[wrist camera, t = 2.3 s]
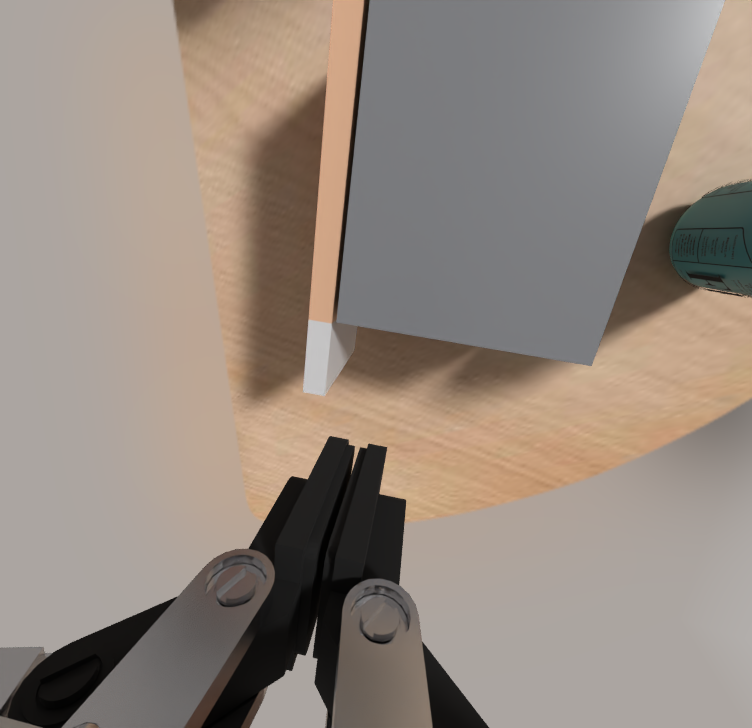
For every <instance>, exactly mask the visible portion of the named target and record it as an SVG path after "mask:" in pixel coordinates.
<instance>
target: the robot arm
mask: <svg viewBox="0 0 752 728" xmlns="http://www.w3.org/2000/svg"><path fill="white" fill-rule="evenodd" d="M354 450H355V446H352V445H349V440H348V439H342V438H337V437H332V436H330V437H329V438H328V440H327V442H326V444H325V446H324V448H323V450H322V452H321V454H320V456H319V458H318V460H317V462H316V464H315V466H314V468H313V470H312V472H311V474H310V476H309V478H308V479H303V478H298V477H294V476H292V477H290V479H289V480H288V481H287V483H286V485H285V487H284V488H283V490H282V492H281V494H280V495H279V497H278V499H277V500H276V502H275V504H274V506H273V507H272V509H271V511H270V512H269V514H268V516H267V518H266V519H265V521H264V523H263V525H262V526H261V528H260V530H259V532H258V533H257V535H256V537H255V538H254V540H253V542H252V544H251V545H250V547H249V549H235V550H232V551H229V552H225V553H223V554H221V555H219V556H217V557H216V558H214V559H213V560H212V561H210V562H209V563H208V564H207V565H206V566H205V567H204V568H203V569H202V570H201V571H200V572H199V574H198V575H197V576H196V577H195V578H194V579H193V580H192V582H191V583H190V584H189V585H188V586H187V587H186V588H185V589H184V590H183V592H182V593H181V594H180V595H179V596H178V597H175V598H173V599H171V600H169V601H166V602H164V603H162V604H159V605H157V606H155V607H152V608H150V609H148V610H145V611H143V612H141V613H139V614H137V615H134V616H132V617H129V618H127V619H125V620H123V621H120V622H118V623H115V624H113V625H111V626H109V627H106V628H104V629H102V630H99V631H97V632H95V633H93V634H90V635H88V636H86V637H83V638H81V639H79V640H76V641H74V642H72V643H70V644H68V645H66V646H64V647H62V648H61V649H59V650H57V651H55V652H53V653H45V652H44V648H43V647H16V648H14V647H13V648H0V728H250V725H251V724H252V721H253V719H254V717H255V715H256V713H257V711H258V710H259V708H260V706H261V703H262V701H263V699H264V696H265V694H266V691H267V688H268V686H269V685H270V684H272V683H274V682H275V681H277V680H278V679H280V678H281V677H283V676H284V674H285V671H286V670H290V671H292V669H293V666H294V663H295V660H296V657H297V654H301V655H306V653H307V650H308V647H309V644H310V640H311V637H312V634H313V630H314V627H315V623H316V620H317V627H316V635H315V643H314V651H313V658H317V659H318V660H317V668H316V676H315V685H316V687H317V689H318V691H319V693H320V695H321V697H322V700H323V702H324V703H325V705H326V708H327V714H326V724H325V725H326V726H325V728H489V727H488V726H487V724H486V723H485V722H484V721H483V719H482V718H481V717H480V715H479V714H478V713H477V712H476V710H475V709H474V708H473V706H472V705H471V704H470V703H469V701H468V700H467V699H466V697H465V696H464V695H463V693H462V692H461V691H460V690H459V688H458V687H457V686H456V685H455V683H454V682H453V681H452V679H451V678H450V677H449V675H448V674H447V673H446V671H445V670H444V669H443V668H442V666H441V665H440V664H439V663H438V661H437V660H436V659H435V657H434V656H433V655H432V653H431V652H430V651H429V650H428V648H427V647H426V646H425V645H424V643H423V642H422V638H421V630H420V622H419V615H418V612H417V608H416V605H415V603H414V601H413V600H412V598H411V596H410V595H409V594H408V593H407V592H406V591H405V590H404V589H403V588H402V587H401V586H399V580H400V568H401V556H402V545H403V532H404V521H405V509H406V500H405V499H400V498H395V497H390V496H385V495H381V494H379V492H380V486H381V480H382V474H383V469H384V463H385V457H386V451H387V447H383V446H378V445H373V444H368V447H367V448H362V447H360V450H359V453H358V456H357V459H356V462H355V465H354V468H353V471H352V465H353V457H354ZM351 472H352V474H351ZM317 617H318V618H317Z"/></svg>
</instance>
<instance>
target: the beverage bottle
mask: <svg viewBox="0 0 752 728" xmlns="http://www.w3.org/2000/svg"><path fill="white" fill-rule="evenodd" d="M750 179H751V178H750ZM745 181H746V179H745ZM749 181H750V182H748V180H747V182H744V181H743V182H744V183H741V182H742V181H741V182H740V183H739V182H738V184H737V183H736V184H734V185H732V184H731V183H730V184H731V185H729V186H727V185H728V184H727V185H726V187H724V186H723V185H722V187H721V188H718V187H717V188H718V189H717V190H715V191H713V192H711V193H709V192H708V193H709V194H707V195H706V194H705V195H706V196H705V195H704V197H702V198H701V199H700V200H698V201H697V202H695V203H694V204H693V205H692V206H690V207H689V208H688V209H687V210H686V211H685V213H684V214H683V215H682V216H681V218H680V219H679V221H678V222H677V224H676V226H675V228H674V230H673V233H672V235H671V239H670V246H669V253H670V259H671V262H672V265H673V267H674V268H675V270H676V271H677V273H678V274H679V276H680V277H681V278H682V277H683V278H684V279H685V280H687V281H688V282H690V283H691V284H692V285H694V286H695V285H697V286H700V287H705V288H710V289H716V290H722V291H727V292H733V293H736V294H732V293H727V292H721V291H715V290H710V289H706V290H709V291H714V292H720V293H723V294H731V295H736V296H741V295H739V294H744V295H742V296H741V297H743V296H746V295H748V296H750V297H752V181H751V180H749ZM724 185H725V184H724ZM715 189H716V188H715ZM683 278H682V279H683ZM684 279H683V280H684ZM685 280H684V281H685ZM685 282H686V281H685ZM689 285H690V284H689ZM692 285H691V286H692ZM694 286H693V287H694ZM697 286H696V287H697ZM696 287H695V288H696ZM705 288H704V289H705ZM698 289H699V287H698ZM704 289H703V290H704ZM701 290H702V289H701ZM737 293H739V294H737ZM748 296H747V297H748Z"/></svg>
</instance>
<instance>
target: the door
mask: <svg viewBox="0 0 752 728" xmlns="http://www.w3.org/2000/svg"><path fill="white" fill-rule="evenodd" d="M369 3H370V0H333V8H332V21H331V34H330V47H329V60H328V73H327V86H326V99H325V112H324V125H323V138H322V151H321V164H320V177H319V190H318V203H317V216H316V229H315V242H314V255H313V268H312V281H311V294H310V307H309V320H308V333H307V346H306V359H305V372H304V385H303V392H306V393H311V394H317V395H322V396H325V395H326V393H327V392H328V390H329V389H330V387H331V386H332V384H333V382H334V381H335V379H336V378H337V376H338V375H339V373H340V372H341V370H342V369H343V367H344V366H345V364H346V363H347V361H348V359H349V358H350V356H351V355H352V353H353V352H354V350H355V343H356V335H357V327H358V326H354V325H348V324H342V323H336V321H337V311H338V301H339V292H340V282H341V272H342V263H343V253H344V243H345V234H346V224H347V215H348V205H349V195H350V186H351V176H352V166H353V157H354V147H355V138H356V128H357V118H358V109H359V99H360V89H361V80H362V70H363V61H364V51H365V41H366V32H367V22H368V12H369Z"/></svg>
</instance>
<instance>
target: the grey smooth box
mask: <svg viewBox="0 0 752 728" xmlns="http://www.w3.org/2000/svg"><path fill="white" fill-rule="evenodd" d="M724 2H725V0H370V3H369V12H368V22H367V32H366V41H365V51H364V61H363V70H362V80H361V89H360V99H359V109H358V118H357V128H356V138H355V147H354V157H353V166H352V176H351V186H350V195H349V205H348V215H347V224H346V234H345V243H344V253H343V263H342V272H341V282H340V292H339V301H338V311H337V321H336V323H342V324H348V325H354V326H360V327H366V328H372V329H377V330H383V331H389V332H395V333H401V334H407V335H413V336H418V337H424V338H430V339H436V340H442V341H448V342H454V343H459V344H465V345H471V346H477V347H483V348H489V349H494V350H500V351H506V352H512V353H518V354H524V355H530V356H535V357H541V358H547V359H553V360H559V361H565V362H571V363H576V364H582V365H588V366H592V363H593V360H594V358H595V355H596V352H597V350H598V347H599V344H600V341H601V339H602V336H603V333H604V330H605V328H606V325H607V322H608V319H609V317H610V314H611V311H612V308H613V306H614V303H615V300H616V298H617V295H618V292H619V289H620V287H621V284H622V281H623V278H624V276H625V273H626V270H627V267H628V265H629V262H630V259H631V256H632V254H633V251H634V248H635V246H636V243H637V240H638V237H639V235H640V232H641V229H642V226H643V224H644V221H645V218H646V215H647V213H648V210H649V207H650V204H651V202H652V199H653V196H654V194H655V191H656V188H657V185H658V183H659V180H660V177H661V174H662V172H663V169H664V166H665V163H666V161H667V158H668V155H669V152H670V150H671V147H672V144H673V142H674V139H675V136H676V133H677V131H678V128H679V125H680V122H681V120H682V117H683V114H684V111H685V109H686V106H687V103H688V100H689V98H690V95H691V92H692V90H693V87H694V84H695V81H696V79H697V76H698V73H699V70H700V68H701V65H702V62H703V59H704V57H705V54H706V51H707V48H708V46H709V43H710V40H711V38H712V35H713V32H714V29H715V27H716V24H717V21H718V18H719V16H720V13H721V10H722V7H723V5H724Z"/></svg>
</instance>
